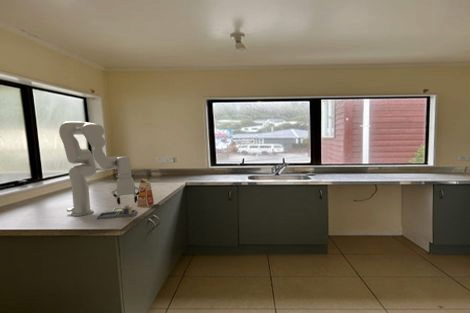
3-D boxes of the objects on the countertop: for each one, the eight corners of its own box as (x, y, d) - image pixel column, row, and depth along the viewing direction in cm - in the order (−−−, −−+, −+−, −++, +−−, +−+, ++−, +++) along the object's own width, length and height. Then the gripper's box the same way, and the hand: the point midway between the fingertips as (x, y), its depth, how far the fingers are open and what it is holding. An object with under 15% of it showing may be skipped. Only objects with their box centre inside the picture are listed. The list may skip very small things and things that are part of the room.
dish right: (117, 218, 164) (116, 215, 164) (120, 213, 174) (120, 211, 174) (134, 216, 166) (134, 213, 166) (136, 212, 176) (136, 209, 176)
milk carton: (148, 207, 187) (146, 178, 186) (136, 207, 189) (134, 178, 187) (154, 204, 196) (153, 176, 194) (143, 203, 198) (141, 176, 196)
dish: (111, 213, 174) (111, 211, 174) (114, 209, 184) (114, 207, 183) (128, 212, 176) (127, 210, 176) (130, 208, 186) (130, 206, 185)
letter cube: (122, 215, 167) (121, 207, 167) (123, 213, 172) (123, 205, 172) (130, 215, 168) (130, 207, 168) (132, 212, 173) (131, 205, 173)
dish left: (97, 219, 162) (97, 217, 162) (101, 215, 172) (101, 212, 172) (115, 218, 164) (115, 215, 164) (118, 213, 174) (118, 211, 174)
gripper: (108, 178, 163) (111, 206, 164) (138, 175, 166) (141, 203, 167) (111, 176, 170) (114, 203, 171) (140, 174, 174) (142, 200, 175)
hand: (127, 203), depth 169 cm, fingers open, 9 cm apart
